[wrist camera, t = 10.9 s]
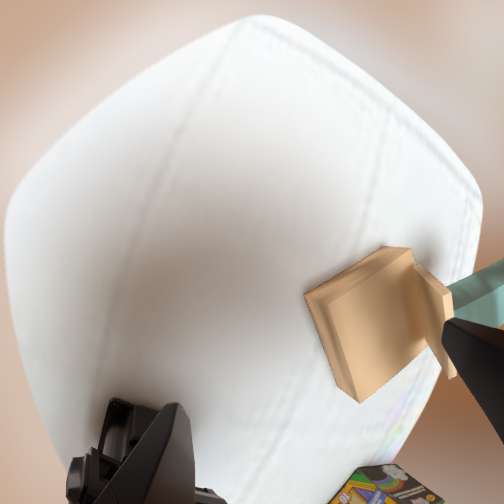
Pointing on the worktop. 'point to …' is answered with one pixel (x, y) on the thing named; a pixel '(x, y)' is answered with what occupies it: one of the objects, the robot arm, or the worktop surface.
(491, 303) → the tall teal pillar
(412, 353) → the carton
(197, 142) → the worktop surface
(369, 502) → the chalk box
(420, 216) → the worktop surface
